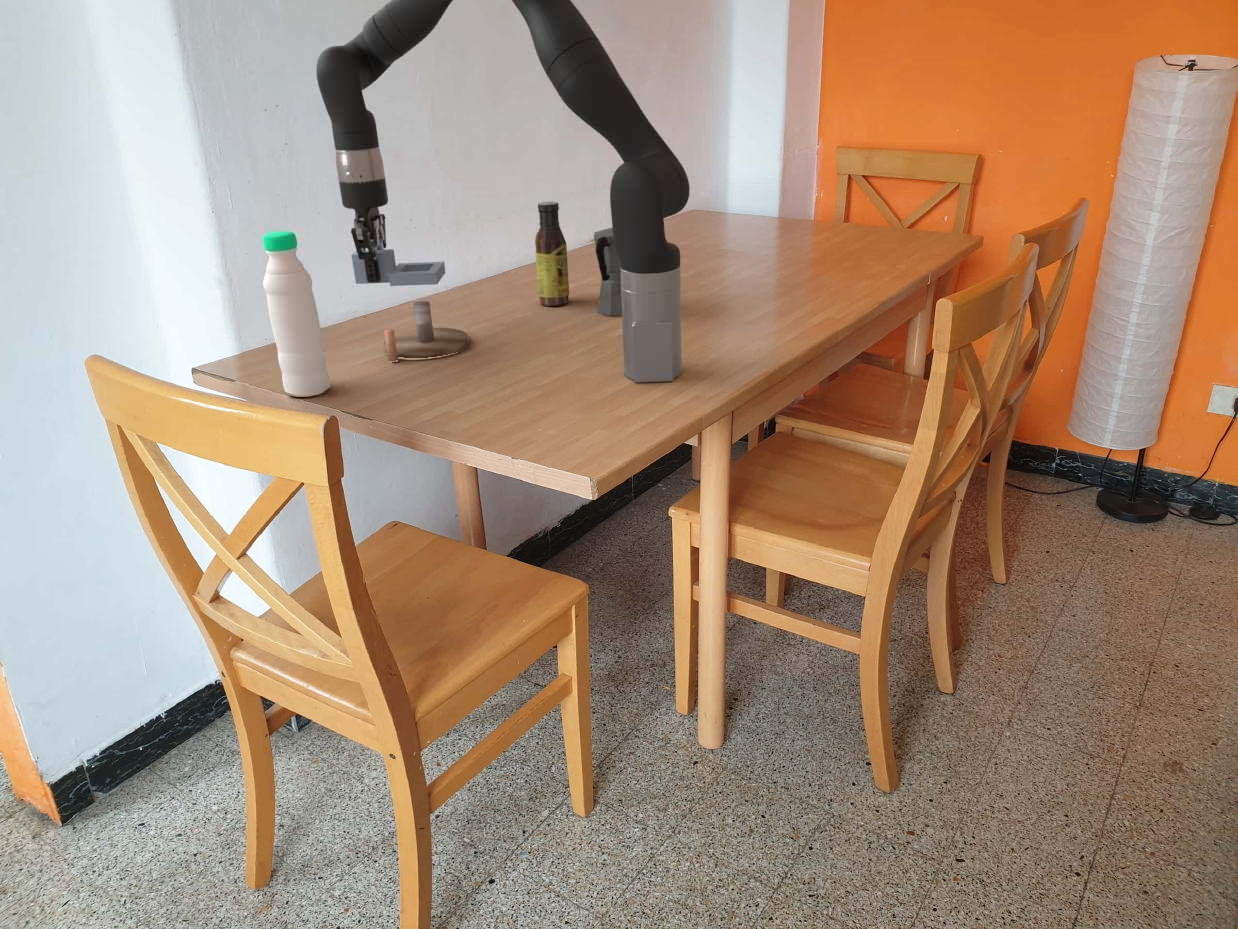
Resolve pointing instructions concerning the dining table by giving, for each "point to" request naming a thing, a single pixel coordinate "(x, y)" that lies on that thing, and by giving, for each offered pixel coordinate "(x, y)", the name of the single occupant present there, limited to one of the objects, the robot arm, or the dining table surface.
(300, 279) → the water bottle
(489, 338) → the dining table surface
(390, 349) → the dowel
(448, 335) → the post stand
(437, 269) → the blue-grey block with frame
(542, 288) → the sauce bottle
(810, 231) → the dining table surface
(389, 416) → the dining table surface
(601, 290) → the coffeepot
